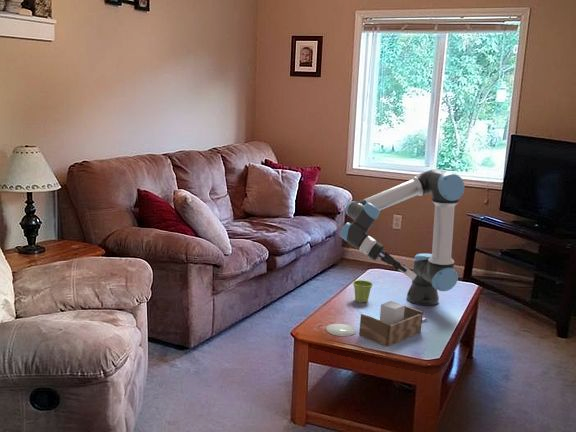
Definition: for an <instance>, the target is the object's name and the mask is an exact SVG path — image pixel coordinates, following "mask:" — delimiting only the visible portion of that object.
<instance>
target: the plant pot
mask: <svg viewBox="0 0 576 432" xmlns="http://www.w3.org/2000/svg"><path fill="white" fill-rule="evenodd" d="M352 285H353V288H354V300H355V301H356V302H357V303H367V302H369V298H370V293H371V289H372V286H373V285H374V284H373V282H371V281H368V280H362V279H360V280H355V281H353V282H352Z"/></svg>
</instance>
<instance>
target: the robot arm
mask: <svg viewBox="0 0 576 432" xmlns="http://www.w3.org/2000/svg"><path fill="white" fill-rule="evenodd" d="M464 192H465V182H464V180H463V179H462V177H461V176H460V175H458V174H457V173H454V172H451V171H447V170H443V169H440V168H439V169H438V168H435V169H430V170H426V171H424V172H421V173H419V174H417V175H415V176H412V177H411V179H410V180H408V181H404V182H402V183H399V184H398V185H396V186H393V187H391V188H388V189H385V190H383V191H380V192H379V193H376V194H374V195H371V196H369V197H366V198H364V199H361V200H358V201H349V202H348V203H347V204H346V205H345V208H344V209H345V214H346V215H347V216H348V217H349V218H351V219H352V220H353V222H346V223H345V224H344V225H343V226H342V228H341V229H340V231H339V237H340V238H341V239H343V240H344V241H345V242H347V243H348V244H350V245H351V246H352V247H354V249H355V248H356V249H357V250H359V251H360V254H364V255H367V256H368V257H369V258H370V259H372V261H377V260H378V258H380V261H382V262H383V263H386V264H388V265H391V266H392V267H394V270H395V271H399V272H401V273H402V274H404V275H405V276H406V277H408V278H410V279H411V284H410V287H409V289H408V291H407V293H406V300H407V301H408V302H410V303H413V304H416V305H418V306H419V305H421V306H434V305H437V304H439V301H440V296H439V292H448V291H450V290H452V289H453V288H454V287H455V286H456V285H457V283H458V280H459V274H458V272H457V270H456V269H455V260H454V259H453V257H452V252H453V251H452V250H453V248H452V247H453V238H454V237H453V235H454V224H455V223H454V220H455V207H456V205H458V204H459V201H460V198H461V197H462V195H464ZM429 194H430V195H431V202H432V203H433V204H434V213H433V214H434V215H433V216H434V217H433V230H432V231H433V233H432V247H431V248H432V249H431V250H432V251H431V253H417V254H416V255H414V259H413V266H412V267H413V269H412V270H411V269H409V268H408V267H406V265H405V264H401V263H400V262H399V261H397V260H396V259H395V258H394V257H393V256H392V255H390V253H388V252H384V250H385V246H384V244H382V243H380V242H379V241H377V240H376V239H375V238H373V237H372V236H371V235H369V234H367V233H368V231H369V230H370V228H371V227H372V226H373V224H374V223H375V221H376V220H377V219H378V218H379V215H380V213H381V211H382V210H384V209H387V208H389V207H391V206H394V205H397V204H399V203H402V202H404V201H406V200H409V199H411V198H414V197H416V196H419V197H422V196H424V195H429ZM438 291H439V292H438Z"/></svg>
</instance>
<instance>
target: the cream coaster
mask: <svg viewBox="0 0 576 432" xmlns="http://www.w3.org/2000/svg"><path fill="white" fill-rule="evenodd" d="M326 332H327V333H328V334H331V335H334V336H335V337H336V336H337V337H351V336H353V335H355V334H356V329H355V328H354V326H352V325H348V324H344V323H331V324H329V325H327V326H326Z"/></svg>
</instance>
